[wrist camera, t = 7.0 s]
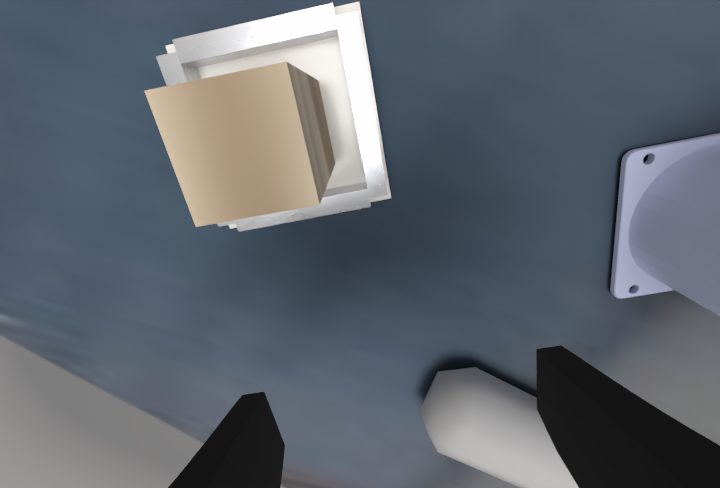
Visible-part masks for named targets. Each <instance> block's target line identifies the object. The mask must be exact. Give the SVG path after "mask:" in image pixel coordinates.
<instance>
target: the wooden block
mask: <svg viewBox="0 0 720 488" xmlns="http://www.w3.org/2000/svg"><path fill="white" fill-rule="evenodd" d="M145 94H146V96H147V99H148V102H149V104H150V107H151V110H152V112H153V115H154V118H155V120H156V123H157V126H158V128H159V131H160V133H161V136H162V139H163V141H164V144H165V147H166V149H167V152H168V155H169V157H170V160H171V163H172V165H173V168H174V170H175V173H176V176H177V178H178V181H179V184H180V186H181V189H182V192H183V194H184V197H185V200H186V202H187V205H188V208H189V210H190V213H191V215H192V218H193V221H194V223H195V226H196V227H199V226H204V225H210V224H216V223H221V222H227V221H233V220H238V219H244V218H249V217H255V216H261V215H266V214H272V213H278V212H283V211H289V210H294V209H300V208H306V207H311V206H317V205H320V203H321V200H322V198H323V195H324V192H325V190H326V187H327V184H328V182H329V179H330V176H331V174H332V171H333V169H334V166H335V159H334V155H333V150H332V145H331V140H330V135H329V130H328V125H327V120H326V115H325V111H324V106H323V101H322V96H321V91H320V86H319V81H318V80H317V79H315V78H313V77H312V76H310V75H308V74H307V73H305V72H303V71H302V70H300V69H298V68H297V67H295V66H293V65H292V64H290V63H288V62H282V63H277V64H272V65H267V66H263V67H258V68H253V69H248V70H243V71H238V72H233V73H228V74H223V75H219V76H214V77H209V78H204V79H199V80H194V81H189V82H184V83H180V84H175V85H170V86H165V87H160V88H155V89H150V90H145Z"/></svg>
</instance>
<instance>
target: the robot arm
mask: <svg viewBox="0 0 720 488" xmlns="http://www.w3.org/2000/svg"><path fill="white" fill-rule="evenodd" d="M647 154H648V159H647V160H646V161H645V162H644V163H643V159H644V157H645V156H646V155H647ZM631 286H633V287H632V288H631V289H630V290H629V288H630V287H631ZM672 290H675V291H677V292H679V293H680V294H682V295H684V296H686V297H687V298H689V299H691V300H692V301H694V302H696V303H697V304H699V305H701V306H703V307H704V308H706V309H708V310H709V311H711V312H713V313H714V314H716V315H718V316H720V133H717V134H711V135H706V136H701V137H696V138H690V139H685V140H680V141H674V142H669V143H664V144H659V145H653V146H648V147H643V148H638V149H633V150H630V151H628V152H627V153H626V154H625V155H624V156H623V158H622V162H621V172H620V184H619V195H618V207H617V218H616V230H615V241H614V253H613V264H612V276H611V287H610V291H611V293H612V294H613V295H614V296H615V297H617V298H619V299H623V298H629V297H635V296H641V295H648V294H654V293H660V292H666V291H672ZM537 410H538V412H539V415H540V417H541V419H542V421H543V423H544V425H545V428H546V430H547V432H548V434H549V436H550V438H551V440H552V442H553V444H554V446H555V448H556V450H557V452H558V454H559V455H560V457H561V459H562V461H563V462H564V464H565V466H566V467H567V469H568V470H569V472H570V474H571V475H572V477H573V479H574V480H575V482H576V484H577V485H578V487H579V488H720V446H719V445H718V444H716V443H714V442H712V441H711V440H709V439H707V438H706V437H704V436H702V435H700V434H699V433H697V432H695V431H694V430H692V429H690V428H688V427H687V426H685V425H683V424H682V423H680V422H678V421H677V420H675V419H674V418H672V417H670V416H669V415H667V414H665V413H664V412H662V411H660V410H659V409H657V408H656V407H654V406H652V405H651V404H649V403H648V402H646V401H645V400H643V399H641V398H640V397H638V396H637V395H635V394H634V393H632V392H630V391H629V390H627V389H626V388H624V387H623V386H621V385H620V384H618V383H617V382H615V381H614V380H612V379H611V378H609V377H608V376H606V375H605V374H603V373H602V372H600V371H599V370H597V369H596V368H594V367H593V366H591V365H590V364H588V363H587V362H585V361H584V360H582V359H581V358H579V357H578V356H576V355H575V354H573V353H572V352H570V351H569V350H567V349H566V348H564V347H563V346H555V347H548V348H542V349H537ZM284 448H285V445H284V442H283V439H282V437H281V434H280V432H279V429H278V426H277V424H276V421H275V419H274V416H273V414H272V411H271V408H270V406H269V403H268V401H267V398H266V395H265V393H264V392H260V393H253V394H247V395H242V396H241V398H240V399H239V400H238V401H237V402H236V404H235V405H234V406H233V407H232V409H231V410H230V411H229V413H228V414H227V415H226V416H225V418H224V419H223V420H222V422H221V423H220V424H219V425H218V427H217V428H216V429H215V431H214V432H213V433H212V434H211V436H210V437H209V438H208V440H207V441H206V442H205V443H204V445H203V446H202V447H201V448H200V450H199V451H198V452H197V453H196V455H195V456H194V457H193V458H192V460H191V461H190V462H189V463H188V465H187V466H186V467H185V468H184V470H183V471H182V472H181V473H180V475H179V476H178V477H177V478H176V479H175V480H174V481H173V483H172V484H171V485H170V486H169V487H168V488H280V484H281V476H282V468H283V458H284Z"/></svg>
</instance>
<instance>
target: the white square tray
mask: <svg viewBox="0 0 720 488" xmlns="http://www.w3.org/2000/svg"><path fill="white" fill-rule="evenodd" d="M338 36H339V39H340V45H341V50H342V55H343V60H344V66H345V71H346V76H347V82H348V87H349V92H350V98H351V103H352V108H353V114H354V119H355V124H356V130H357V135H358V140H359V146H360V151H361V156H362V162H363V167H364V172H365V178H366V182H363V183H357V184H352V185H347V186H342V187H337V188H332V189H326V190H325V192H324V195H323V198H322V200H321V203H320V205H317V206H311V207H306V208H300V209H294V210H289V211H283V212H278V213H272V214H266V215H261V216H255V217H249V218H244V219H238V220H233V221H227V222H221V223H217V224H218V227H220V226H225V225H230V224H235V223H236V226H237V229H238V232H240V231H245V230H251V229H256V228H261V227H267V226H272V225H277V224H283V223H288V222H293V221H299V220H304V219H309V218H314V217H320V216H325V215H330V214H336V213H341V212H346V211H352V210H357V209H362V208H368V207H371V203H370V198H372V197H377V196H383V195H388V193H387V187H386V181H385V175H384V169H383V163H382V157H381V151H380V145H379V139H378V133H377V127H376V121H375V115H374V109H373V103H372V98H371V92H370V86H369V80H368V74H367V68H366V62H365V56H364V50H363V44H362V38H361V32H360V26H359V20H358V14H357V11H355V12H350V13H346V14H341V15H337V16H336V15H335V10H334V6H333V3H330V4H326V5H321V6H317V7H312V8H308V9H304V10H299V11H295V12H291V13H286V14H282V15H278V16H273V17H269V18H265V19H260V20H256V21H251V22H247V23H243V24H238V25H234V26H230V27H225V28H221V29H217V30H212V31H208V32H203V33H199V34H195V35H190V36H186V37H182V38H177V39H173V40H172V41H173V43H174V46H175V49H176V52H174V53H169V54H165V55H160V56H156V58H157V61H158V63H159V66H160V69H161V72H162V74H163V77H164V80H165V82H166V85H167V86H170V85H175V84H180V83H184V82H189V81H194V80H199V79H201V76H200V73H199V70H198V67H203V66H207V65H212V64H216V63H221V62H225V61H230V60H234V59H239V58H243V57H248V56H252V55H257V54H261V53H266V52H270V51H275V50H279V49H284V48H288V47H293V46H297V45H302V44H306V43H311V42H315V41H320V40H324V39H329V38H333V37H338Z"/></svg>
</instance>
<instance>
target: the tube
mask: <svg viewBox="0 0 720 488" xmlns="http://www.w3.org/2000/svg"><path fill="white" fill-rule="evenodd" d="M419 412H420V414H421V417H422V419H423V422H424V424H425V427H426V429H427V432H428V434H429V436H430V438H431V440H432V442H433V444H434V446H435V447H436V449H437V451H438V452H439V453H441V454H444V455H446V456H448V457H451V458H453V459H455V460H458V461H460V462H462V463H465V464H467V465H469V466H471V467H474V468H476V469H478V470H481V471H483V472H485V473H488V474H490V475H492V476H495V477H497V478H499V479H502V480H504V481H506V482H509V483H511V484H513V485H516V486H518V487H520V488H579V487H578V485H577V484H576V482H575V480H574V479H573V477H572V475H571V474H570V472H569V470H568V469H567V467H566V466H565V464H564V462H563V461H562V459H561V457H560V455H559V454H558V452H557V450H556V448H555V446H554V444H553V442H552V440H551V438H550V436H549V434H548V432H547V430H546V428H545V425H544V423H543V421H542V419H541V417H540V415H539V412H538V410H537V398H536V397H534V396H532V395H530V394H528V393H526V392H524V391H522V390H520V389H518V388H516V387H514V386H512V385H510V384H508V383H506V382H504V381H502V380H500V379H498V378H496V377H494V376H492V375H490V374H488V373H486V372H484V371H482V370H480V369H478V368H476V367H473V368H464V369H455V370H446V371H438V372H437V374H436V376H435V378H434V380H433V382H432V384H431V387H430V389H429V391H428V393H427V395H426V398H425V400H424V402H423V405H422V407H421V409H420V411H419Z"/></svg>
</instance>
